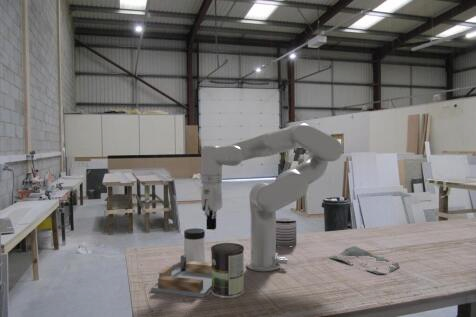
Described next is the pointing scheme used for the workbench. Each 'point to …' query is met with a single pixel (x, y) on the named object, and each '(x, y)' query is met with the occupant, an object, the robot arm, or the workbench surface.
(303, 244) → the workbench surface
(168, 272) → the jig board
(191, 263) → the oak leg
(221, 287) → the coffee can
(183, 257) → the pivot pin
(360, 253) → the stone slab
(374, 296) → the workbench surface
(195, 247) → the jar
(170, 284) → the fixed rail
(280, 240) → the can
